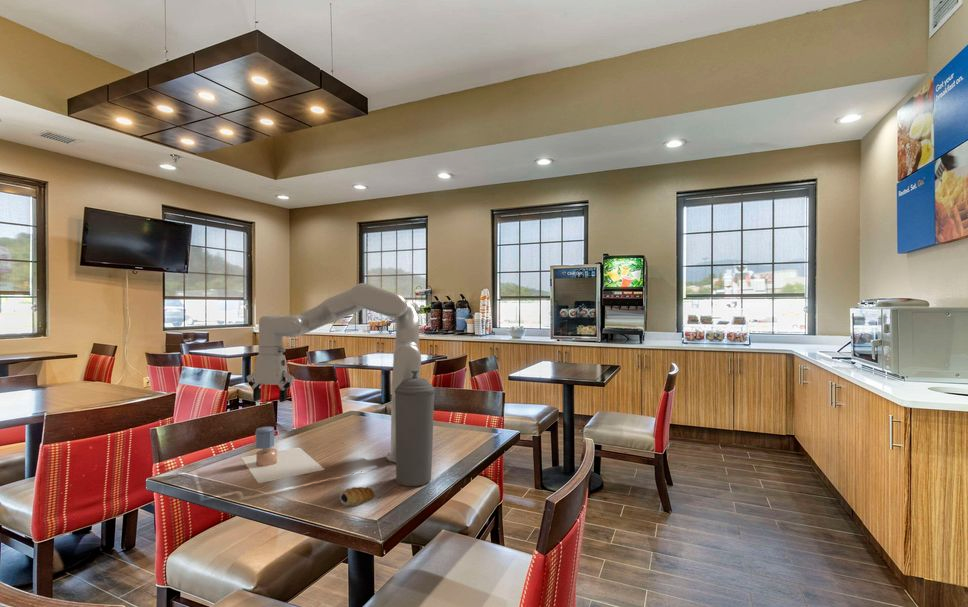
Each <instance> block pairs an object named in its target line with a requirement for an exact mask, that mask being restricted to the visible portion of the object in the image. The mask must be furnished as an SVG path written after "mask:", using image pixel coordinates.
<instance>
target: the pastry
mask: <svg viewBox="0 0 968 607" xmlns="http://www.w3.org/2000/svg"><path fill="white" fill-rule="evenodd" d="M374 496H375V492H374V490H373V489H372V488H371V487H362V486H359V487H357V486H354V487H353V486H352V487H351V488H346V489H345V490H342V491H341V493H340V494H339V497H338V498H339V501H340V503H341V504H342V505H345V506H346V507H355V506H357V505H362V504H365V503H368V502H369V501H370V500H372V499H373V498H374Z"/></svg>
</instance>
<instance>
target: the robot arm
mask: <svg viewBox="0 0 968 607" xmlns="http://www.w3.org/2000/svg"><path fill="white" fill-rule="evenodd" d="M364 309H365V310H367V311H370V312H374V313H376V314H379V315H383V316H386V317H388V318H392V319H393V320H394V322H395V342H394V343H395V344H394V350H393V361H392V362H393V364H392V365H393V366H392V380H391V385H390V390H391V395H390V396H391V403H390V404H391V410H390V411H391V412H390V414H391V415H390V417H391V419H390V451H389V452H388V453H387V454H386V455H385V456H386V458H385V459H386V460H388V461H389V462H391V463H395V464H396V425H395V390H396V388H397V387H398V385H399V384H400V383H401V382H402V381H403V380H404V379H406V378H412V376H413V373H412V372H411V370H419V372H417V377H419V378H421V369H422V368H421V367H422V354H421V351H420V345H419V344H420V321H419V316H418V313H417V311H416V309H415V307H414V306H413V305H412V304H411V303H410V301H408V300H407V299H405V297H404V296H402V295H400V294H399V293H395V292H392V291H389V290H386V289H383V288H379V287H378V286H374V285H372V284H369V283H366V282H361V283H358V284H356V285H354V286H353V287H352V288H350V289H348V290H345V291H343V292H340V293H338V294H336V295H333V296H331V297H328V298H327V299H324V300H323V301H322V303H320V304H318V305H317V306H315V307H313V308H311V309H308V310H306V311H304V312H300V313H299V314H292V315H285V316H280V315H263V316H261V317H259V319H258V320H259V321H258V355H256V358H255V364H254V370H253V371H254V372H252V373H250V374H249V375H247V376H246V380H247V382H248V385H249V386H250V387H251V389H252V398H253V399H252V400H253V402H257V401H260V400H261V399H262V388H261V386H262V385H268V386H269V385H270V386H271V385H272V386H273V385H274V386H275V385H277V386H278V387H279V389H280V390H279V392H278V393H279V395H278V396H279V400H278V401H279V402H280V403H283V402H286V401H287V398H288V389H289V388H290V387H291V386H292V385H293V382H294V381H295V377H294V376H293V375H292V374H290V373H288V365H287V359H286V355H285V354H284V353H285V352H286V348H284V346H283V344H284V342H283V340H284V337H290V338H296V337H299V336H303V335H305V334H307V333H310V332H312V331H315V330H316V329H319V328H322V327H323V326H326V325H328V324H332V323H335V322H337V321H339V320H342V319H344V318H346V317H348V316H352V315H353V314H355V313H358V312H360V311H363V310H364Z"/></svg>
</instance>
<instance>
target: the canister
mask: <svg viewBox="0 0 968 607" xmlns="http://www.w3.org/2000/svg"><path fill="white" fill-rule="evenodd" d="M411 372H412V373H413V376H412V378H406V379H404V380H403V381H402V382H401V383H400V384H399V385H398V387H397V388H396V390H395V425H396V463H395V468H396V469H395V470H396V472H395V473H396V474H395V475H396V476H395V478H396V483H397V484H399V485H401V486H403V487H419V486H420V485H421V486H423V485H427V484H429V483H430V481H431V480H432V468H433V466H432V465H433V444H434V443H433V442H434V441H433V439H434V412H435V408H434V405H435V393H436V390H435V388H434V386H433V385H432V384H431V383H430V382H429V380H428V379H426V378H424V377H420V378H419V377H417V372H419V370H411Z"/></svg>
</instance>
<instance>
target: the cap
mask: <svg viewBox="0 0 968 607" xmlns="http://www.w3.org/2000/svg"><path fill="white" fill-rule="evenodd" d="M254 437H255V444H254V446H255V447H254V448H255V449H258V450H259V449H260V450H263V449H265V448H270V447H271V448H272V447H274V446H275V428H274V426H261V427H258V428H256V429H255V436H254Z"/></svg>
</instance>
